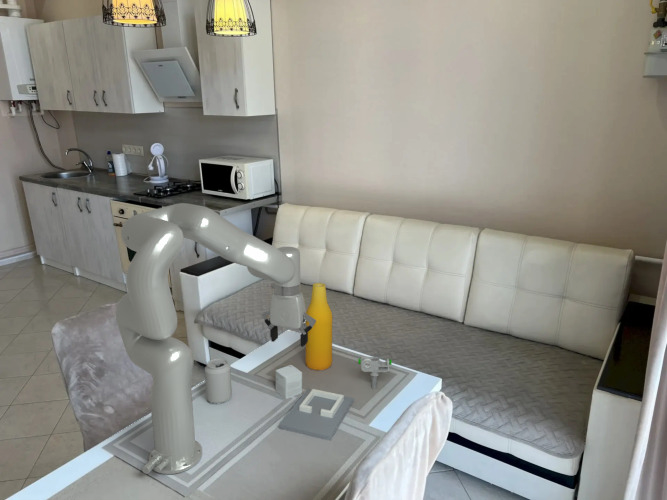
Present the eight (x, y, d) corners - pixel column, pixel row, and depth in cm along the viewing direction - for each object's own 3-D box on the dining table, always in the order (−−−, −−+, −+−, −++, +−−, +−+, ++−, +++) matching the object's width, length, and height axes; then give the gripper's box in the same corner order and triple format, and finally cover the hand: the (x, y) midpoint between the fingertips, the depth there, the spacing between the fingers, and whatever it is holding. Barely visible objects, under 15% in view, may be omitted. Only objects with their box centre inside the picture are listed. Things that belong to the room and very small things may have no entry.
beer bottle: (303, 359, 173) (303, 281, 165) (329, 357, 174) (330, 280, 167) (307, 371, 164) (307, 290, 157) (334, 369, 165) (335, 288, 158)
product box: (275, 391, 152) (274, 369, 150) (291, 385, 156) (291, 364, 154) (285, 399, 147) (285, 377, 146) (302, 393, 151) (302, 371, 149)
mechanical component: (390, 390, 153) (391, 361, 150) (357, 389, 153) (358, 360, 151) (389, 385, 156) (390, 356, 153) (357, 384, 156) (358, 356, 154)
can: (217, 408, 142) (215, 371, 139) (201, 399, 147) (199, 363, 144) (237, 397, 148) (235, 361, 145) (220, 389, 152) (219, 354, 149)
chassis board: (330, 440, 128) (330, 431, 128) (279, 428, 133) (279, 419, 133) (353, 401, 147) (354, 393, 146) (307, 392, 151) (307, 384, 151)
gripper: (255, 289, 143) (257, 343, 147) (310, 296, 137) (310, 352, 141) (267, 281, 149) (269, 333, 154) (319, 288, 144) (320, 341, 148)
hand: (289, 342), depth 148 cm, fingers open, 9 cm apart
